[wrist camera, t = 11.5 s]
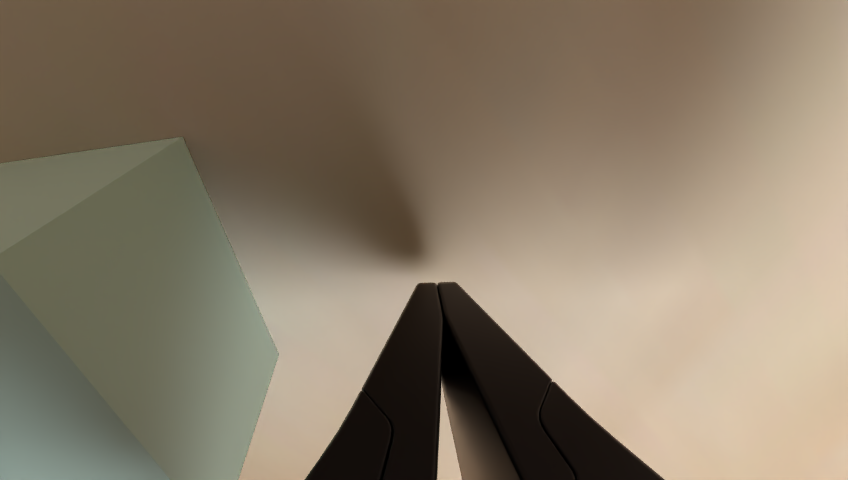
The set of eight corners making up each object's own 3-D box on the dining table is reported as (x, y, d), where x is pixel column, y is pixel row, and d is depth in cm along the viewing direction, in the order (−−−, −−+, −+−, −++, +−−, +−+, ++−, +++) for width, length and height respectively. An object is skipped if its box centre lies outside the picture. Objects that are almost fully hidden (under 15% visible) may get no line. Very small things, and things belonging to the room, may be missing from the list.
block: (280, 350, 11) (217, 545, 7) (64, 380, 11) (-118, 591, 7) (186, 134, 8) (-20, 266, 4) (-112, 178, 8) (-607, 350, 4)
